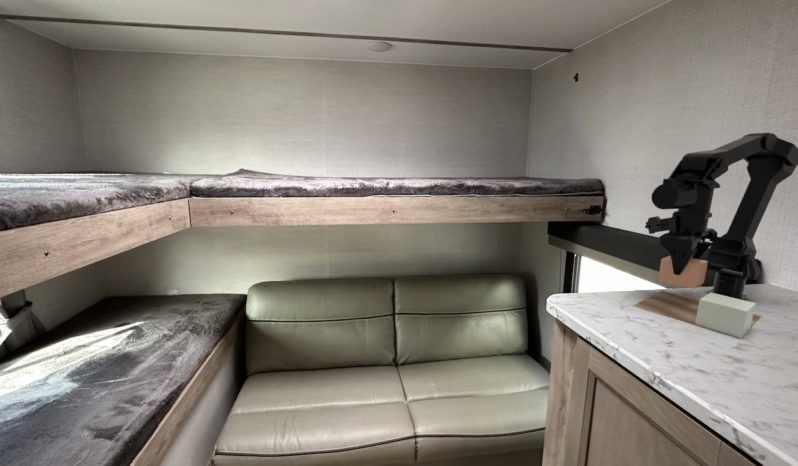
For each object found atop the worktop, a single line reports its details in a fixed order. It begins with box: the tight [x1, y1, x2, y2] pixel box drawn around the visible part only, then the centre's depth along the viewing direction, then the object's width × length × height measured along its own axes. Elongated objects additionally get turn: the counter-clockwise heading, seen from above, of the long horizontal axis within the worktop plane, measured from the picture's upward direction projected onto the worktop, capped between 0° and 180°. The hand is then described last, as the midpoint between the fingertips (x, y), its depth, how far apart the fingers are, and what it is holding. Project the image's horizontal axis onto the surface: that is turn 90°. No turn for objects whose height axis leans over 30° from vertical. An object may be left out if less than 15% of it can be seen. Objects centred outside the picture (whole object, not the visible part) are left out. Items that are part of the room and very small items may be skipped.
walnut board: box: [632, 290, 763, 340], centre depth 78 cm, size 18×18×1 cm
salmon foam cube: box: [657, 255, 708, 290], centre depth 83 cm, size 7×7×6 cm
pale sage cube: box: [695, 292, 757, 339], centre depth 70 cm, size 7×7×6 cm
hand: (682, 271), depth 83 cm, fingers closed on salmon foam cube, 7 cm apart
